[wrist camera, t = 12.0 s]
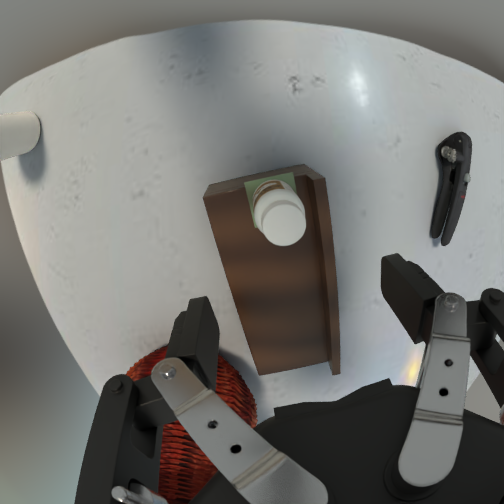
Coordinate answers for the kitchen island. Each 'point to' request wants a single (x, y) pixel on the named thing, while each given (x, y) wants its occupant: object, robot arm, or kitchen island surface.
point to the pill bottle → (279, 212)
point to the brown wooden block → (280, 273)
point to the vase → (181, 443)
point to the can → (18, 133)
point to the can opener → (452, 184)
